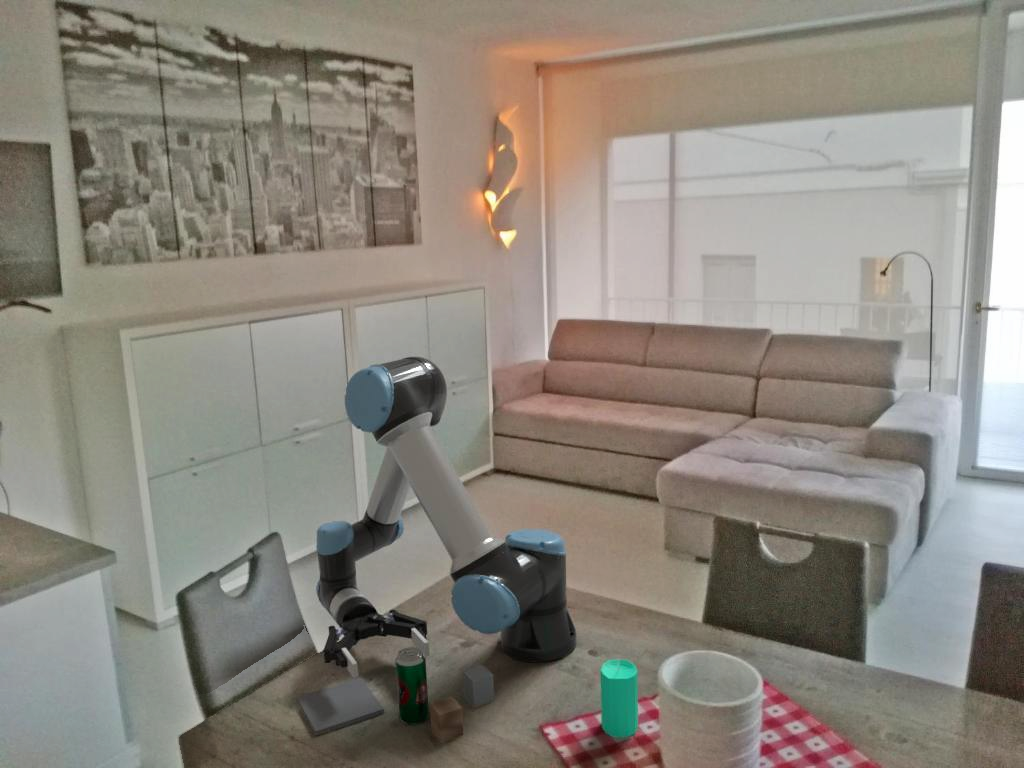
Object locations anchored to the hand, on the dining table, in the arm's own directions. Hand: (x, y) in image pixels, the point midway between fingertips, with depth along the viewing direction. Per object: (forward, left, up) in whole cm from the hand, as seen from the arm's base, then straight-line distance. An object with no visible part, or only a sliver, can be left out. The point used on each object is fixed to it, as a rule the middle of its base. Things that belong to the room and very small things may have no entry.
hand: (392, 660), depth 147 cm
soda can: (0, +9, -7) cm, 11 cm away
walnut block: (-3, +16, -7) cm, 17 cm away
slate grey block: (-12, +10, -7) cm, 17 cm away
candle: (-28, +30, -7) cm, 42 cm away
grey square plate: (+10, -1, -6) cm, 12 cm away
